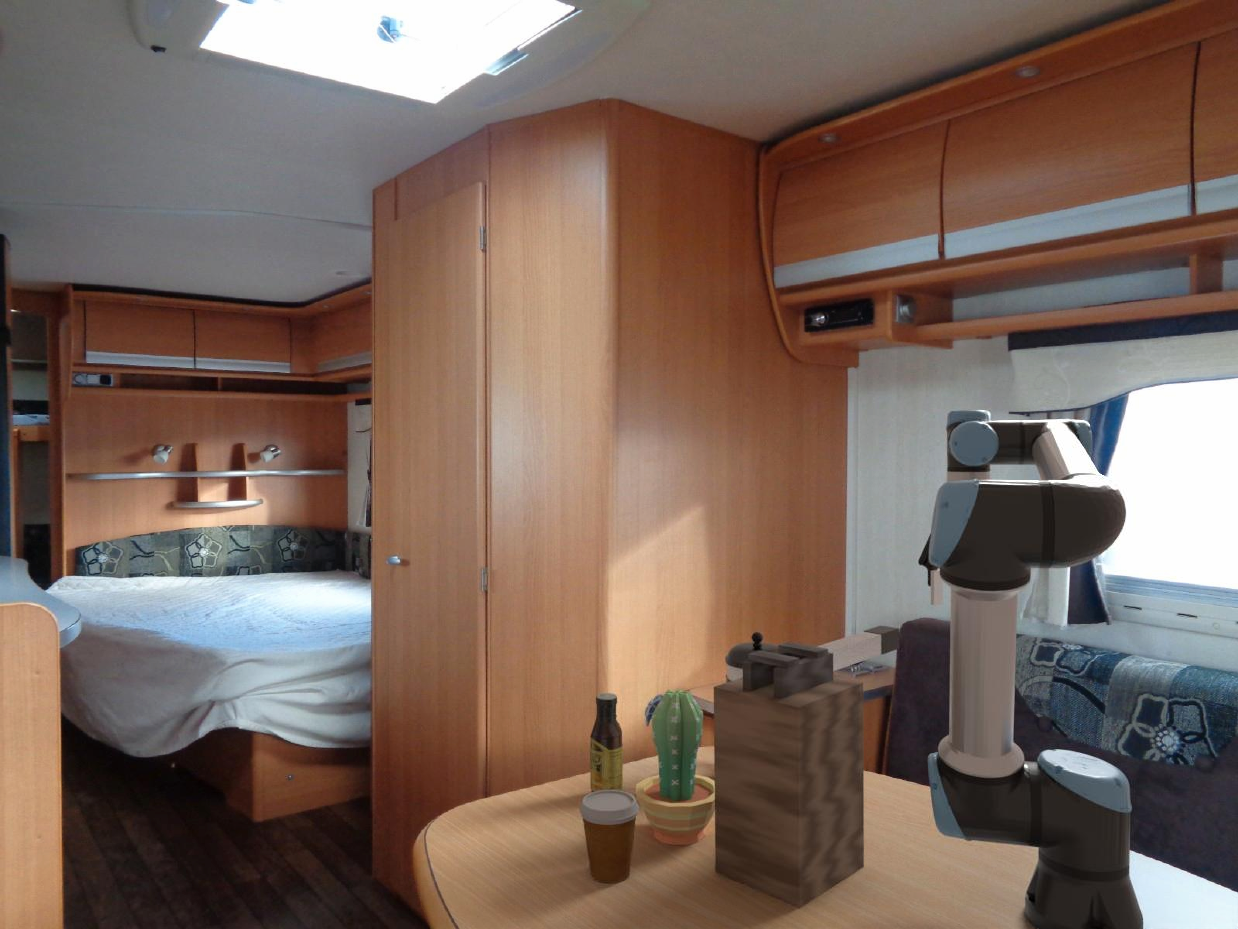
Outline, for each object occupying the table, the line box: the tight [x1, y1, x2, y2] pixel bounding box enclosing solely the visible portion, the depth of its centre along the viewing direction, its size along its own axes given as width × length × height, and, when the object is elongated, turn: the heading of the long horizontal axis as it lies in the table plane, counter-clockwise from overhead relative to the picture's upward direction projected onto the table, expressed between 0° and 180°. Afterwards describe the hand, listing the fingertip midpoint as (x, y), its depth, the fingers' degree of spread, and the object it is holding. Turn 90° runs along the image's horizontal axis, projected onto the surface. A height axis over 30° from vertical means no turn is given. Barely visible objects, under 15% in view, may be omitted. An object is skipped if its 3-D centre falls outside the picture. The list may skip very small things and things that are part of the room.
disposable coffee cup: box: [579, 790, 640, 884], centre depth 151 cm, size 10×10×12 cm
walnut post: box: [713, 641, 865, 908], centre depth 151 cm, size 18×16×35 cm
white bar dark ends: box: [800, 625, 900, 672], centre depth 163 cm, size 26×4×4 cm, turn 135°
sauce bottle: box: [589, 692, 624, 793], centre depth 181 cm, size 6×6×20 cm
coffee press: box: [724, 631, 779, 683], centre depth 190 cm, size 17×16×30 cm
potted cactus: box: [635, 688, 715, 846], centre depth 165 cm, size 15×15×25 cm
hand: (968, 610), depth 173 cm, fingers open, 13 cm apart
